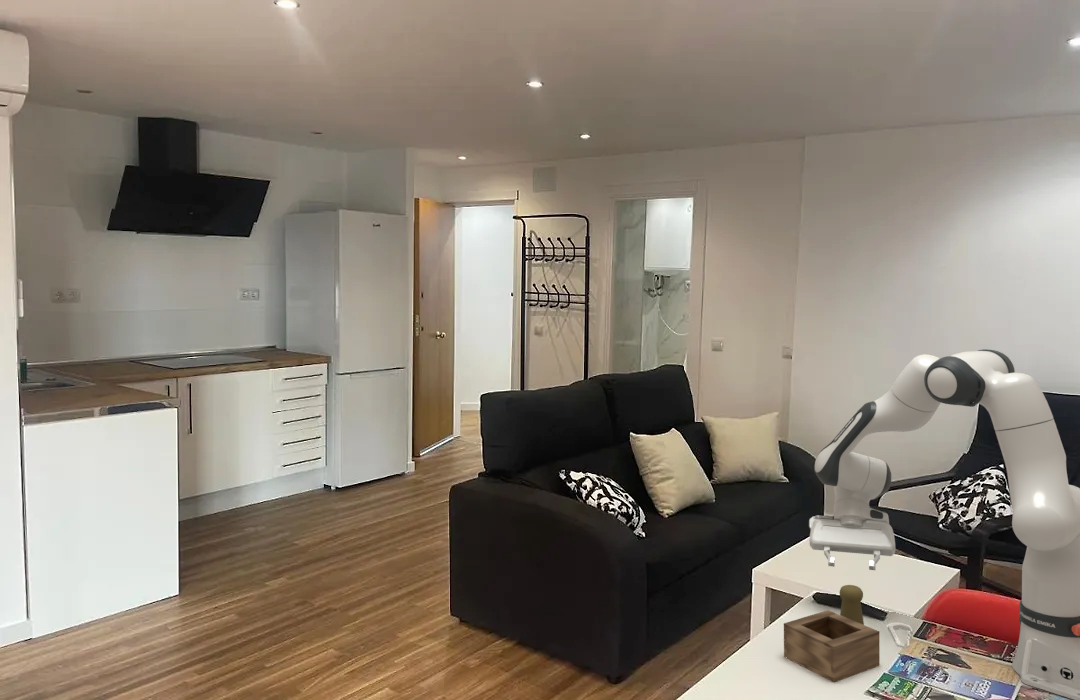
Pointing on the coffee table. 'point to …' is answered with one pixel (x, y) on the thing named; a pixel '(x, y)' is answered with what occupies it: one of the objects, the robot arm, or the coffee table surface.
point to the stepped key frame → (901, 626)
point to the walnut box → (831, 645)
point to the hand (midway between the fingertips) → (851, 567)
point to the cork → (851, 603)
